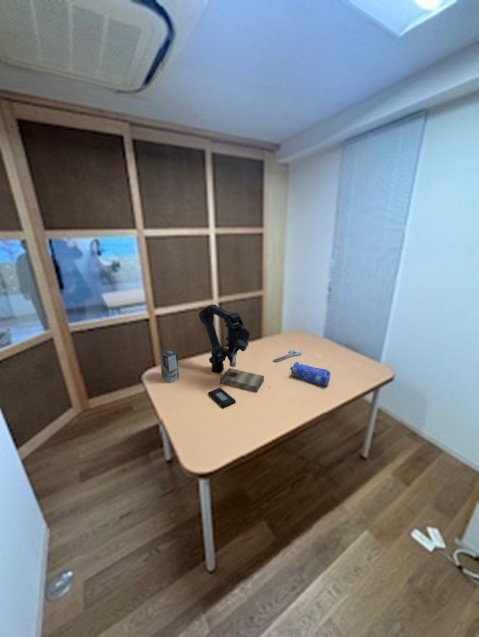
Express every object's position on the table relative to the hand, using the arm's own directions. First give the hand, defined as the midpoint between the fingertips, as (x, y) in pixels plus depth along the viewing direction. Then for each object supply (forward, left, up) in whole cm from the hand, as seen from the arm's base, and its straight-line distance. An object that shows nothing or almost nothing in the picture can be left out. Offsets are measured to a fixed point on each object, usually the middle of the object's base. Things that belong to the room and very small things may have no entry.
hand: (232, 361), depth 146 cm
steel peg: (0, 0, -3) cm, 3 cm away
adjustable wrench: (+23, +43, -13) cm, 50 cm away
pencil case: (+41, +18, -13) cm, 47 cm away
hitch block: (+5, 0, -12) cm, 13 cm away
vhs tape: (+2, -19, -13) cm, 23 cm away
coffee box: (-34, -13, -12) cm, 38 cm away
